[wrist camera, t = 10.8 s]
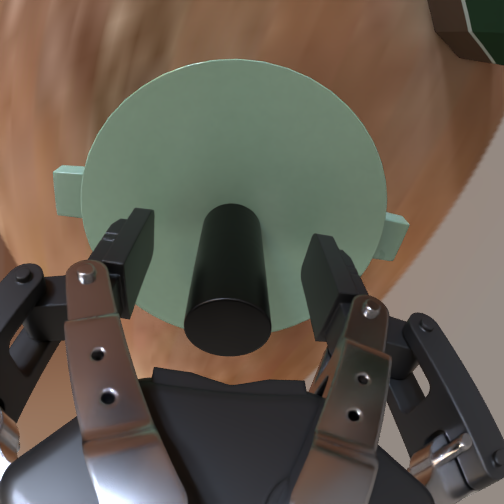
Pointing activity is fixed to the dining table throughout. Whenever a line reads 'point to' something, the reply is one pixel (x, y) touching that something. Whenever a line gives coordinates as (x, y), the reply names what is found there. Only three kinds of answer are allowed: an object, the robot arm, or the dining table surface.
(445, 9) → the beer bottle
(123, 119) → the lid
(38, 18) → the dining table surface
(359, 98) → the dining table surface
